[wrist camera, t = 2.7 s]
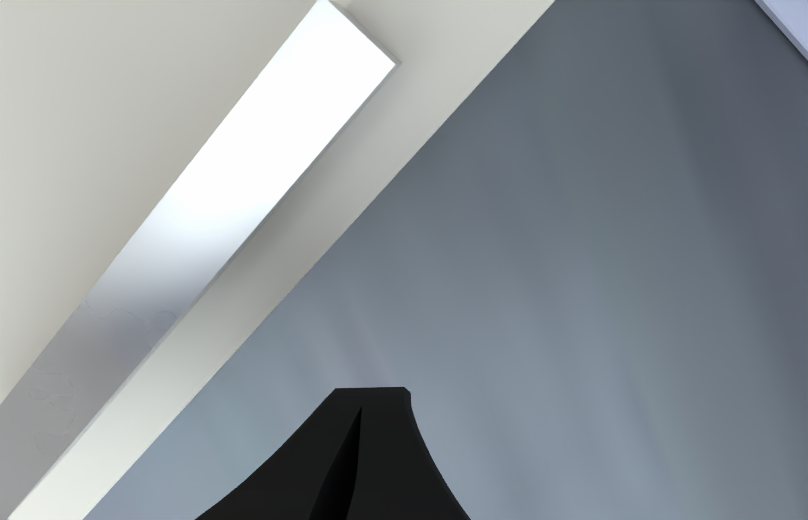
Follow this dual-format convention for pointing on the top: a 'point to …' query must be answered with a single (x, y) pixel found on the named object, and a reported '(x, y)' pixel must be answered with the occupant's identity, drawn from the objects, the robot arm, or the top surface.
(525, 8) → the sliding cover
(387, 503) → the robot arm
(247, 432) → the top surface
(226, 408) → the top surface
